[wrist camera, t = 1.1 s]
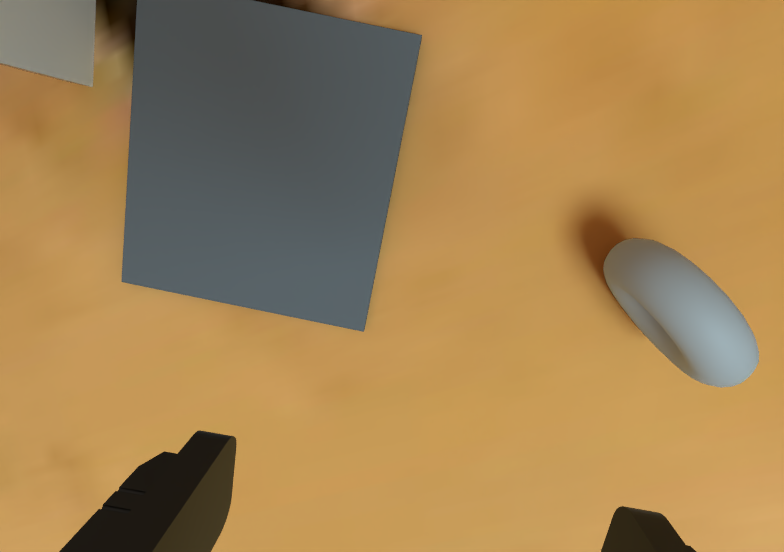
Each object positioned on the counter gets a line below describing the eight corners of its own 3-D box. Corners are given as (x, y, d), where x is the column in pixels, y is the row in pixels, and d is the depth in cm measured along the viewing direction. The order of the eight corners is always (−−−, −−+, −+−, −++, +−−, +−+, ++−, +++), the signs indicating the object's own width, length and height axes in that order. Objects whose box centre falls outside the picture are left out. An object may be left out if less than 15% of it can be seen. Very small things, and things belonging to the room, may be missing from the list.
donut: (571, 248, 31) (643, 284, 21) (614, 217, 30) (709, 239, 20) (649, 354, 32) (751, 433, 23) (691, 326, 32) (815, 395, 22)
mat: (144, -20, 28) (138, -23, 28) (421, 38, 28) (421, 35, 28) (126, 279, 33) (121, 281, 32) (364, 328, 33) (363, 331, 32)
